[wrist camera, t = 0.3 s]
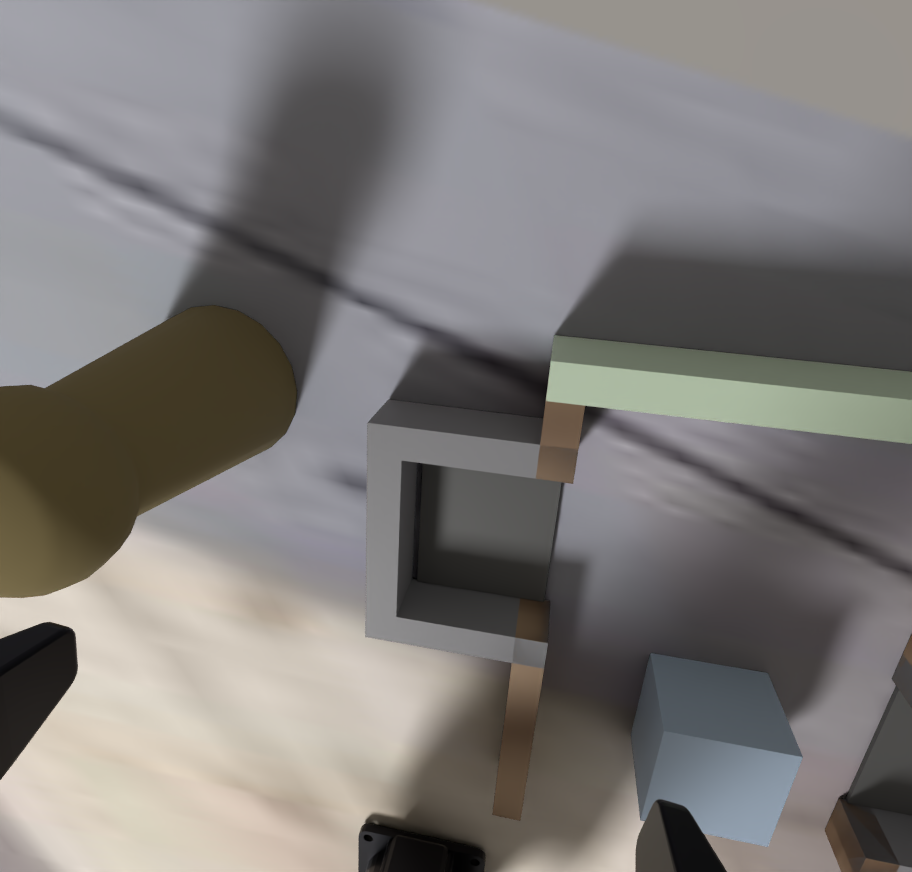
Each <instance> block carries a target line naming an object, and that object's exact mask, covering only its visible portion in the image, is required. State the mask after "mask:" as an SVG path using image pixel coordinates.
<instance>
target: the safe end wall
mask: <svg viewBox="0 0 912 872" xmlns="http://www.w3.org/2000/svg"><path fill="white" fill-rule="evenodd" d="M546 401H550V402H558V403H567V404H575V405H584V406H592V407H601V408H609V409H618V410H626V411H635V412H643V413H652V414H660V415H669V416H677V417H686V418H694V419H703V420H711V421H720V422H728V423H737V424H745V425H754V426H762V427H771V428H779V429H788V430H796V431H805V432H813V433H822V434H830V435H839V436H847V437H856V438H864V439H873V440H881V441H890V442H898V443H907V444H912V372H909V371H899V370H890V369H880V368H870V367H860V366H851V365H841V364H831V363H821V362H811V361H802V360H792V359H782V358H772V357H763V356H753V355H743V354H733V353H723V352H714V351H704V350H694V349H684V348H675V347H665V346H655V345H645V344H636V343H626V342H616V341H606V340H596V339H587V338H577V337H567V336H557V335H554V340H553V347H552V355H551V363H550V371H549V379H548V387H547V396H546Z"/></svg>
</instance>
